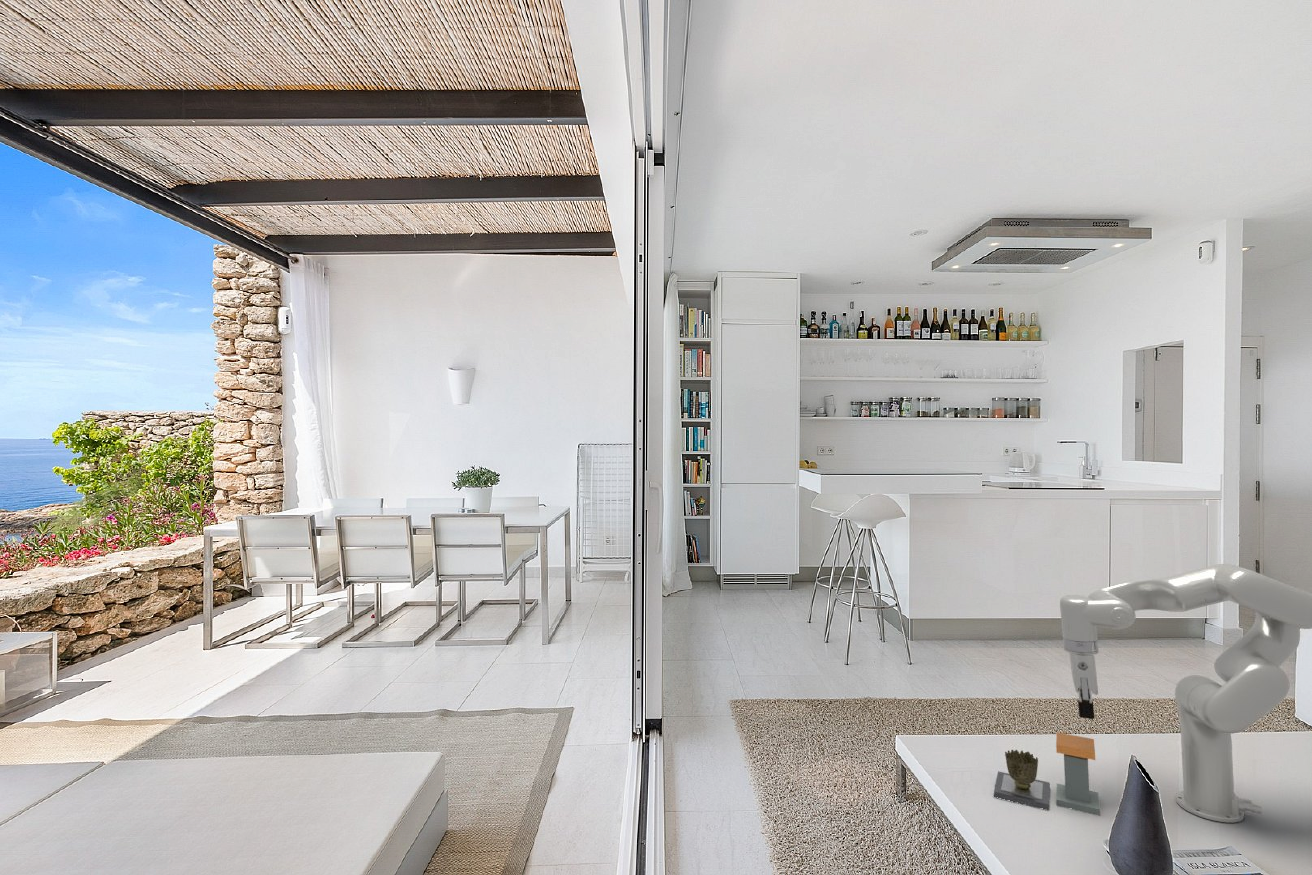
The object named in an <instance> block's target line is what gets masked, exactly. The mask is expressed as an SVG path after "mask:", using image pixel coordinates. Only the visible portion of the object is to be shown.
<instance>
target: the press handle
mask: <svg viewBox="0 0 1312 875" xmlns="http://www.w3.org/2000/svg"><path fill="white" fill-rule="evenodd" d="M1055 740H1056V742H1055V743H1056V744H1055V745H1056V746H1055V747H1056V749H1055V750H1056V753H1057V754H1062V755H1064V754H1066V755H1071V756H1076V757H1082V758H1087V759H1088V760H1092V761H1096V749H1095V738H1090V737H1084V736H1079V735H1073V734H1068V733H1062V732H1056V739H1055Z"/></svg>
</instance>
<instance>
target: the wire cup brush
mask: <svg viewBox="0 0 1312 875" xmlns="http://www.w3.org/2000/svg"><path fill="white" fill-rule="evenodd" d="M1004 753H1005V754H1004V755H1005V756H1004V757H1005V761H1006V762H1005V763H1006V768H1007V772H1008V774H1009V775H1010V776H1011V778H1012V779H1013V780H1015V781H1014V783H1015V785H1016V786H1017V787H1018V788H1020V789H1025V790H1026V789H1029V788H1030V787H1031V784H1030V783H1033V782H1034V781H1035V779H1036V778H1037V775H1038V768H1039V767H1038V766H1039V765H1038V764H1039V758H1038V757H1036V758H1035V757H1034V754H1033V753H1031V752H1030V751H1026V752H1024V750H1020V751H1018V749H1015V750H1014V749H1011V750H1010V749H1009V750H1007V751H1005V752H1004ZM1036 780H1037V779H1036Z"/></svg>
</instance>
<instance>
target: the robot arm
mask: <svg viewBox="0 0 1312 875" xmlns="http://www.w3.org/2000/svg"><path fill="white" fill-rule="evenodd" d="M1227 601H1228V602H1232V603H1235V604H1238V605H1240V606H1242V607H1245V608H1247V609H1249V610H1251V611H1253V612H1255V620H1254V623H1253V625H1252V627H1251V628H1250V629H1249V630H1248V631H1247V632H1246V633H1245V634H1244V635H1243V636H1242V637H1241V638H1239V639H1238V640H1237V641H1235V643H1233V644H1232V645H1231V646H1229V647H1228V648H1227V649H1225V651H1223V652H1222V653H1221V654H1219V655H1218V656H1217V658H1216V659H1215V662H1214V665H1213V667H1214V671H1215V673H1216V674H1217V676H1218V677H1219V678H1220V679H1221V680H1222V681H1224V682H1225V683H1224V684H1223V685H1221V684H1219V683H1218V682H1217V681H1215V680H1213V679H1210V678H1209V677H1205V676H1202V675H1187V676H1185V677H1183V678H1181V679H1180V680H1179V681H1178V682H1177V683H1176V687H1175V691H1174V692H1175V693H1174V696H1175V703H1176V708H1177V711H1178V716H1179V725H1180V743H1181V744H1180V746H1181V764H1182V765H1181V766H1182V768H1181V769H1182V786H1183V790H1181V791H1178V792H1177V793H1176V794H1175V801H1176V803H1177V804H1178V806H1180V807H1181V808H1183V809H1184V810H1185V811H1186V812H1189V813H1191V814H1193V815H1195V816H1197V817H1200V818H1202V819H1203V818H1204V819H1207V820H1209V821H1215V822H1220V823H1226V824H1227V823H1231V824H1233V823H1238V822H1241V821H1243V820H1244V818H1245V816H1244V815H1245V813H1244V812H1245V811H1247V812H1250V813H1254V814H1258V815H1262V814H1263V810H1262V806H1261V805H1260V804H1256V803H1253V802H1252V799H1246V798H1241V797H1240V798H1239V796H1237V794H1236V793H1235V787H1234V786H1235V784H1234V783H1235V782H1234V780H1235V779H1234V767H1233V766H1234V764H1233V763H1234V762H1233V741H1232V735H1235V734H1238V733H1242V732H1243V731H1245V730H1247V729H1249V728H1250V727H1252V726H1253V725H1254V724H1255V723H1257V722H1258V721H1260V720H1261V719H1262V718H1263V717H1264V716H1266V715H1267V714H1268V713H1270V712H1271V711H1272V710H1273V709H1275V708H1276V707H1277V706H1279V704H1281V703H1282V702H1283V701H1284V700H1285V699H1286V697H1287V695H1288V693H1289V690H1290V680H1289V677H1288V675H1287V673H1286V672H1285V671H1284V669H1282V668H1281V666H1282V665H1284V663H1285V662H1286V661H1288V659H1289V658H1291V656H1293V654H1294V653H1295V652H1296V651H1297V649H1298V647H1299V644H1300V640H1301V629H1302V630H1311V629H1312V593H1311V592H1308V591H1306V590H1303V589H1301V588H1297V587H1295V586H1292V585H1290V584H1287V583H1284V582H1282V581H1279V580H1276V579H1273V578H1271V577H1268V576H1266V575H1264V574H1261V573H1258V572H1257V571H1254V570H1252V569H1247V568H1244V567H1241V566H1237V565H1235V564H1230V563H1217V564H1213V565H1209V566H1205V567H1202V568H1197V569H1194V570H1191V571H1187V572H1184V573H1183V572H1182V573H1179V574H1175V575H1172V576H1168V577H1163V578H1155V579H1153V578H1152V579H1147V580H1138V581H1130V582H1124V583H1120V584H1116V585H1112V586H1108V587H1104V588H1100V589H1098V590H1095V591H1093V592H1091V593H1090V594H1089V595H1088V596H1086V595H1085V596H1084V595H1078V594H1077V595H1076V594H1073V595H1072V594H1070V595H1064V596H1062V597H1061V598H1060V600H1059V607H1060V608H1059V609H1060V621H1061V632H1062V642H1063V643H1062V644H1063V645H1062V646H1063V650H1064V651H1065V652H1067V653H1069V660H1070V670H1071V676H1072V681H1073V686H1074V690H1075V693H1078V694H1077V695H1078V699H1077V703H1078V704H1077V705H1078V716H1079V717H1080V718H1081V719H1088V720H1089V719H1090V720H1094V719H1095V711H1094V708H1095V707H1094V701H1093V698H1092V694H1093V695H1095V696H1097V695H1098V694H1099V689H1098V688H1099V687H1098V676H1097V667H1096V666H1097V665H1096V659H1095V658H1096V657H1095V655H1097V654H1099V653H1100V652H1099V642H1098V631H1097V630H1098V629H1097V627H1101V628H1108V629H1115V630H1123V629H1127V628H1129V627H1130V626H1132V625H1134V623H1135V622H1136V618H1137V617H1136V611H1146V610H1149V611H1150V610H1151V611H1152V610H1153V611H1154V610H1156V611H1162V612H1169V613H1170V612H1177V613H1179V612H1180V613H1183V612H1187V611H1192V610H1195V609H1196V610H1197V609H1199V608H1202V607H1207V606H1212V605H1215V604H1219V603H1223V602H1227Z"/></svg>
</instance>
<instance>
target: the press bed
mask: <svg viewBox="0 0 1312 875" xmlns="http://www.w3.org/2000/svg"><path fill="white" fill-rule="evenodd" d="M1014 781H1015V780H1013V779H1012V778H1011V776H1010V775H1009V772H1008V773H1007V772H1002V771H998V772H997V775H996V779H995V784H994V790H993V798H994V797H998V798H1001V799H1000V800H1002V799H1005V800H1004V801H1007V800H1010V801H1009V802H1011V801H1013V802H1012V803H1015V802H1018V803H1017V804H1019V803H1020V804H1021V805H1023V804H1026V805H1025V806H1028V805H1029V806H1028V807H1032V806H1033V808H1037V809H1040V808H1043V809H1042V810H1044V809H1047V810H1046V811H1048V810H1049V811H1050V801H1049V800H1050V799H1051V783H1050V782H1049V781H1044V780H1039V779H1035V781H1034V782H1033V783H1030V784H1031V787H1030V788H1029V789H1026V790H1025V789H1020V788H1018V787H1017V786H1016V785H1015V783H1014ZM998 798H997V799H998Z"/></svg>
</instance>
